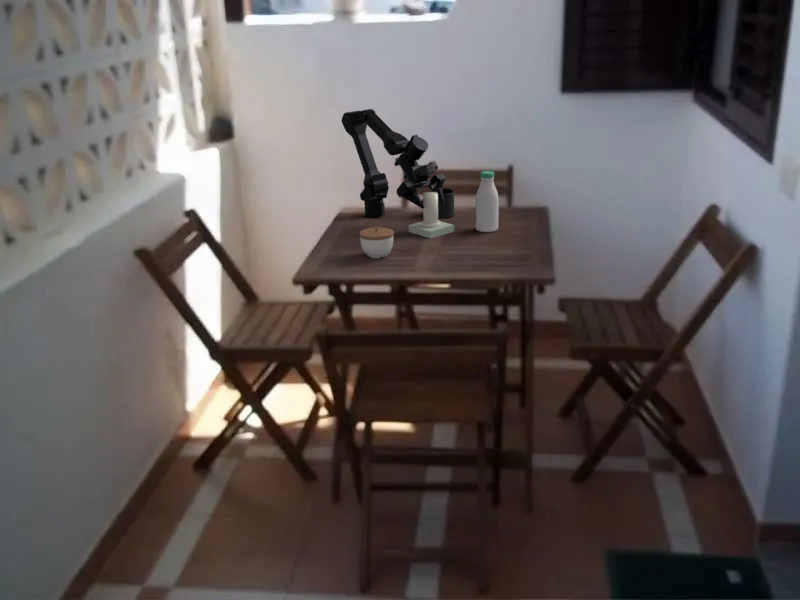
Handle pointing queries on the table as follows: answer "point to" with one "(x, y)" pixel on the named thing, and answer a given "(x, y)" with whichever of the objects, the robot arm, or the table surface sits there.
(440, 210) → the mug
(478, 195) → the milk bottle
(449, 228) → the block
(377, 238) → the lidded jar
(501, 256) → the table surface
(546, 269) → the table surface
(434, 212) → the white rounded piece
